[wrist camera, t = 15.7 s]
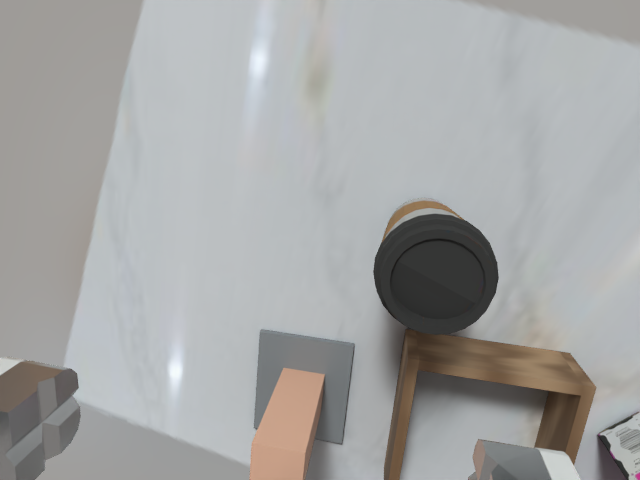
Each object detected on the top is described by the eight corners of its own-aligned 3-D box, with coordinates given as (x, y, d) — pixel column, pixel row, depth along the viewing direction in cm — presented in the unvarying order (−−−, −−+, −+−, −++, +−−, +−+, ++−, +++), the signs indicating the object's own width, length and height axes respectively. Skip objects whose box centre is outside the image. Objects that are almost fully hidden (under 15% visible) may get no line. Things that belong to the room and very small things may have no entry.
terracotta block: (324, 374, 49) (305, 452, 38) (320, 410, 50) (300, 497, 39) (283, 367, 49) (251, 443, 38) (280, 403, 51) (249, 487, 39)
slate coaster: (354, 343, 48) (353, 346, 48) (342, 440, 51) (341, 443, 51) (261, 329, 49) (260, 331, 49) (255, 424, 53) (253, 428, 52)
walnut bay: (569, 353, 45) (596, 387, 39) (532, 493, 50) (551, 542, 44) (405, 329, 47) (408, 358, 41) (384, 466, 52) (383, 510, 46)
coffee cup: (436, 285, 45) (458, 363, 31) (362, 245, 45) (349, 304, 31) (483, 213, 43) (531, 261, 29) (405, 170, 43) (413, 196, 29)
